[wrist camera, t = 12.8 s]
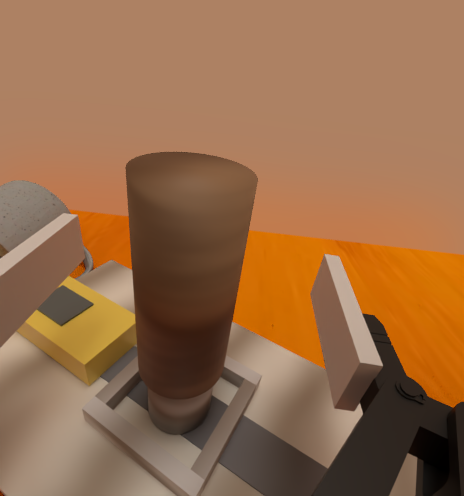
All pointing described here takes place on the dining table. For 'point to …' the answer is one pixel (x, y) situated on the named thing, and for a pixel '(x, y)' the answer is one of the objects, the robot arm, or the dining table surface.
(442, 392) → the dining table surface
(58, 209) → the ceramic mug
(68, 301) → the block
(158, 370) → the brown tall rounded piece
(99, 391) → the subfloor panel
